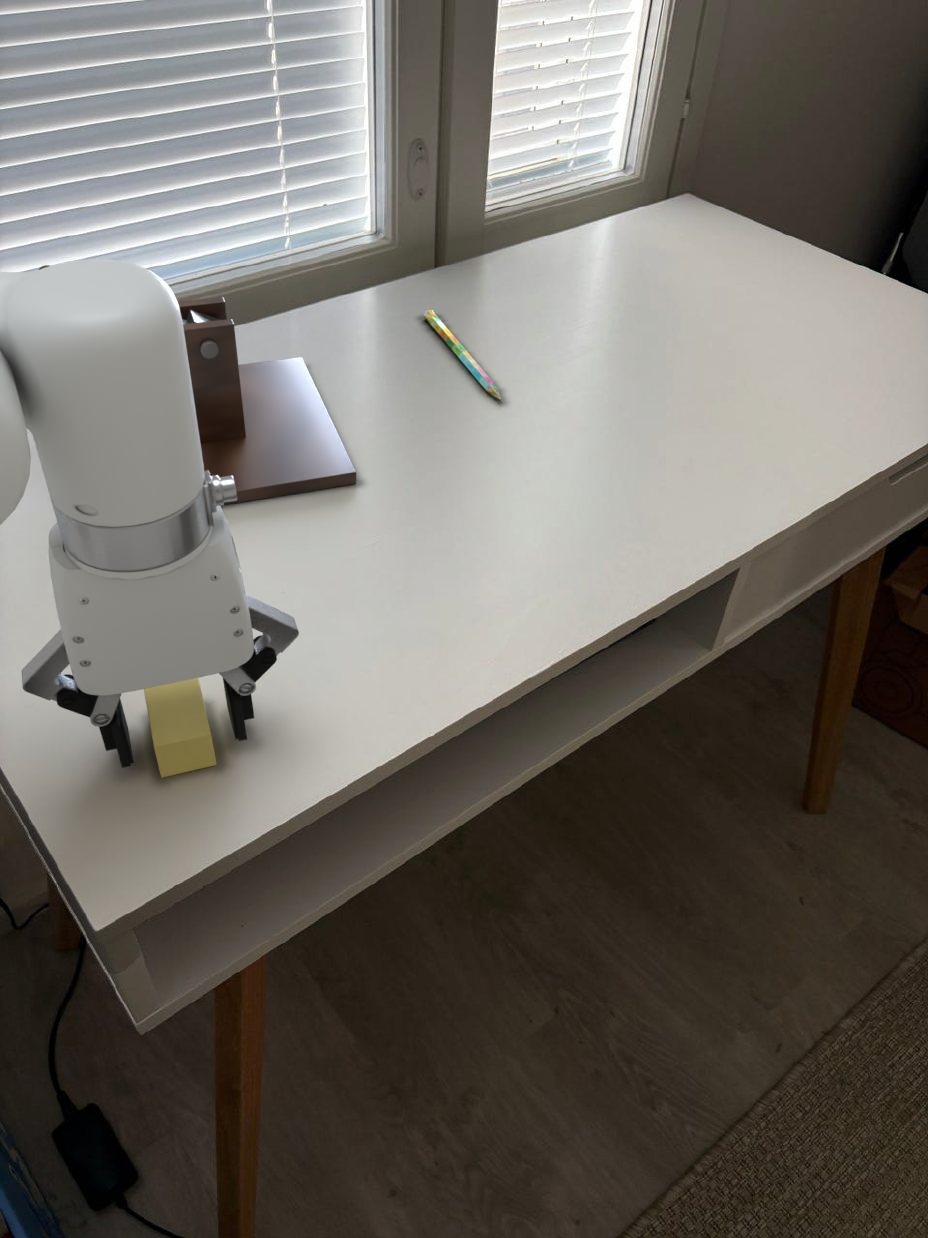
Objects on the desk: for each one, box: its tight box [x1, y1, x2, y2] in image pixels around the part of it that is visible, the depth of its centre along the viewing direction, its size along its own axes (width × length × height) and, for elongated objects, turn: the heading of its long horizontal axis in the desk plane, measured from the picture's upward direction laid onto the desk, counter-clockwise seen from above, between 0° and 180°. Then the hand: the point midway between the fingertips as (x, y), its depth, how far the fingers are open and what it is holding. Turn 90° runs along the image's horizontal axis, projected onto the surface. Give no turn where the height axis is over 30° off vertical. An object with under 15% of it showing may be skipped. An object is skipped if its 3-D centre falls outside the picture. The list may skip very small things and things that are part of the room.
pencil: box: [423, 309, 502, 401], centre depth 102 cm, size 1×1×18 cm
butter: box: [143, 678, 218, 778], centre depth 63 cm, size 5×3×3 cm
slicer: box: [177, 296, 357, 506], centre depth 86 cm, size 20×20×12 cm
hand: (182, 735), depth 64 cm, fingers open, 6 cm apart
